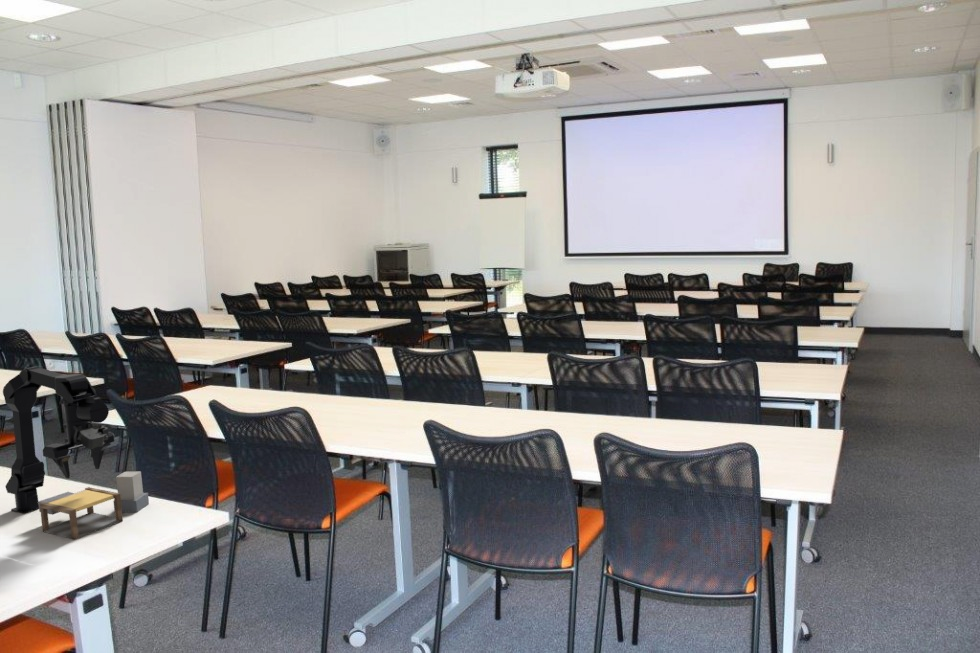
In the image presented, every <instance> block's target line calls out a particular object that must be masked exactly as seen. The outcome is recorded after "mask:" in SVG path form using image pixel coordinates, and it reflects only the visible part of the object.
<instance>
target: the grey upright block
mask: <svg viewBox="0 0 980 653" xmlns="http://www.w3.org/2000/svg"><path fill="white" fill-rule="evenodd" d="M115 477H116V479H115V480H116V488H117V493H120V497H121V500H135V499H136V498H138V497H139V496H141V495H142V494H143V493H144V488H143V487H144V486H143V479H142V471H140V470H139V471H136V470H135V471H124V472H122V473H120V474H119V475H117V476H115Z"/></svg>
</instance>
